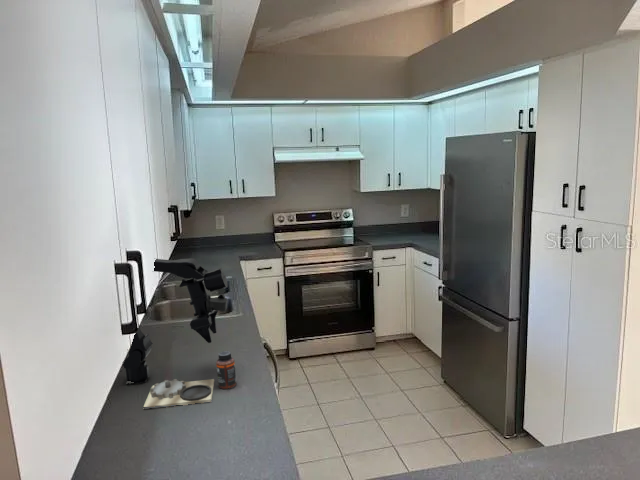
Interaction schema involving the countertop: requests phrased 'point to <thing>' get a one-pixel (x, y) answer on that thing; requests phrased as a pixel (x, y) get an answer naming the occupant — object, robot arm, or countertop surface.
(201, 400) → the gear board
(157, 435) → the countertop surface
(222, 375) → the supplement bottle
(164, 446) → the countertop surface
